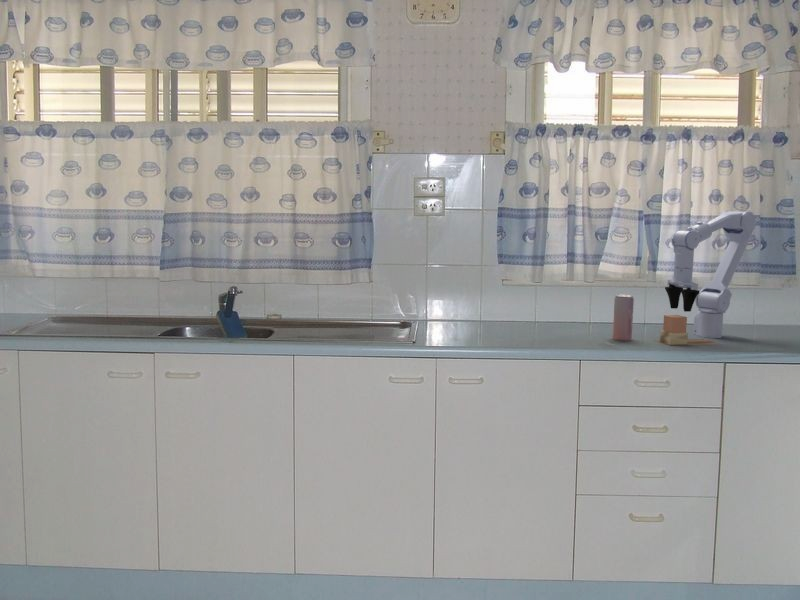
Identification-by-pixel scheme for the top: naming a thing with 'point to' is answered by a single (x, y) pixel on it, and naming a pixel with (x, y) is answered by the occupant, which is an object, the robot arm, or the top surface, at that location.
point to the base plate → (693, 342)
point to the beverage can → (623, 317)
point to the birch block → (673, 338)
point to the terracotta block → (675, 324)
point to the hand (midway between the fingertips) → (680, 309)
